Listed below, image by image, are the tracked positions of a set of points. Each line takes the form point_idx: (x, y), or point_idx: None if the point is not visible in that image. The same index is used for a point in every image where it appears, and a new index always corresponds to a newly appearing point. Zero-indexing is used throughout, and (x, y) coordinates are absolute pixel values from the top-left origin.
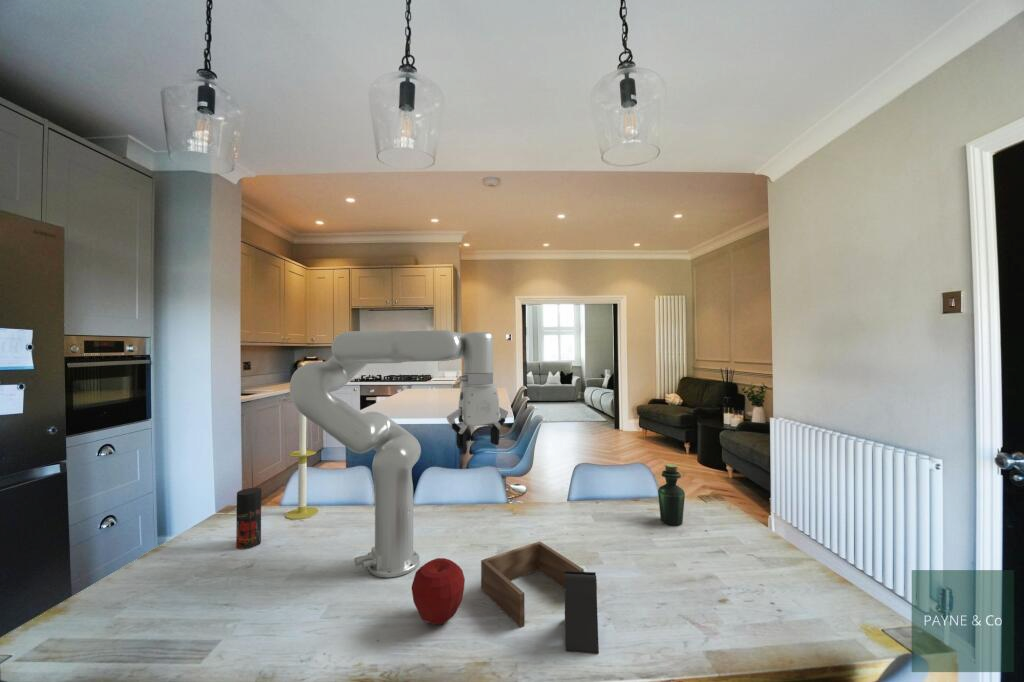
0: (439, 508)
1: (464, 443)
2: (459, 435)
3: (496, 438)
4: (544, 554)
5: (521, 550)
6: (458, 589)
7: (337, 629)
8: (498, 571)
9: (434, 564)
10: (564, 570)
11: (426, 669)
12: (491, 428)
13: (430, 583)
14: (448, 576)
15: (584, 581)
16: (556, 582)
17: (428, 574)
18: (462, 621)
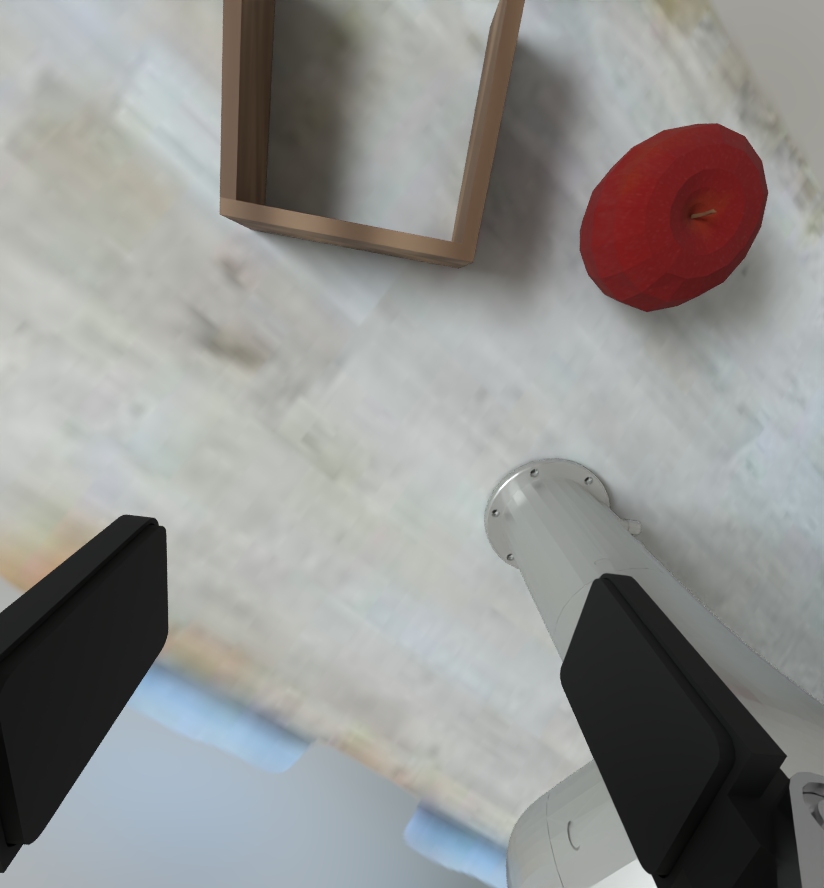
0: (282, 698)
1: (657, 620)
2: (778, 770)
3: (109, 570)
4: (245, 169)
5: (319, 217)
6: (670, 129)
7: (767, 368)
8: (482, 153)
9: (696, 245)
10: (253, 34)
11: (749, 94)
12: (7, 849)
13: (761, 168)
14: (717, 142)
15: None
16: (268, 117)
17: (755, 198)
18: (585, 182)
